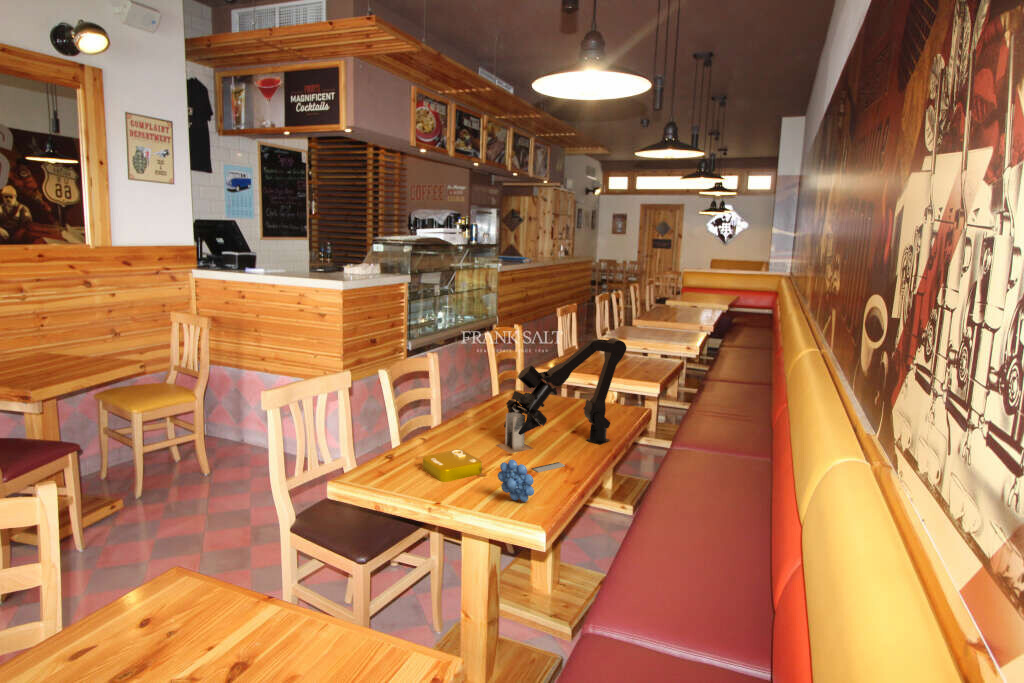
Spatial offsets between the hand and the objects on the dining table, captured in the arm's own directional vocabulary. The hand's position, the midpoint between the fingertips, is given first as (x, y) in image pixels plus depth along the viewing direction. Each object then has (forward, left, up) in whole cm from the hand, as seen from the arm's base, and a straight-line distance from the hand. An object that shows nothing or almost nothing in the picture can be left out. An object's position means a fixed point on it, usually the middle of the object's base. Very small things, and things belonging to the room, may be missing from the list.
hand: (511, 430), depth 216 cm
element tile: (+28, -1, -8) cm, 29 cm away
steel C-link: (-1, 0, -6) cm, 6 cm away
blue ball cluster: (+32, +29, -7) cm, 44 cm away
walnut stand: (-1, 0, -7) cm, 7 cm away
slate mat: (+3, +16, -7) cm, 18 cm away
